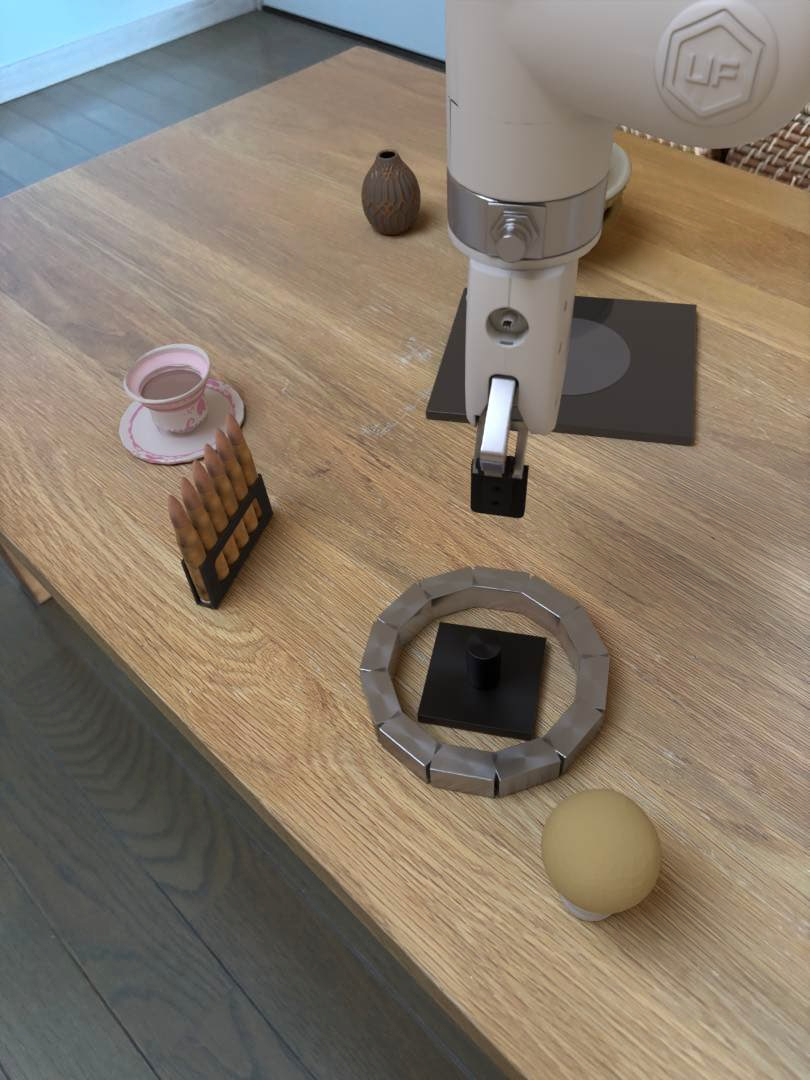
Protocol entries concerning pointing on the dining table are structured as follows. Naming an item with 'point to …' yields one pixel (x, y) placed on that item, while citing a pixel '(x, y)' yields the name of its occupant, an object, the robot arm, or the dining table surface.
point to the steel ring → (472, 765)
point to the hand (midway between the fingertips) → (509, 455)
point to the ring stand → (483, 681)
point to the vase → (390, 194)
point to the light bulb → (600, 853)
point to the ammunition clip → (220, 515)
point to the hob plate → (604, 371)
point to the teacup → (175, 405)
